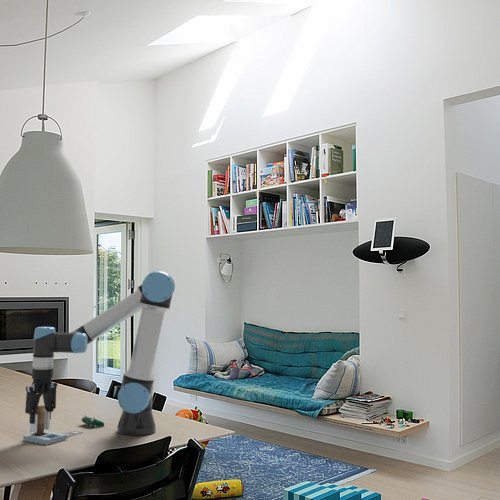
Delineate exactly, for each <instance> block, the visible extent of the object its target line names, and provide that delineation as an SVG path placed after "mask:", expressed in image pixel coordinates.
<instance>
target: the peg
mask: <svg viewBox="0 0 500 500" xmlns="http://www.w3.org/2000/svg"><path fill="white" fill-rule="evenodd" d="M45 411H46V410H45V405H38V408H37V412H36V414H37V415H38V420H37V433H35V436H43V435H44V431H45V429H44V418H45Z"/></svg>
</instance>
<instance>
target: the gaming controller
mask: <svg viewBox="0 0 500 500" xmlns="http://www.w3.org/2000/svg"><path fill="white" fill-rule="evenodd" d="M81 421H82V423H83V424H85V426H88V427H89V426H90V427H91V428H94V427H98V426H99V427H100V428H101V426H102V427H105V423H104V421H101V420H99V419H96V417H95V416H93V417H88V416H87V414H84V415H83V416H82V418H81Z"/></svg>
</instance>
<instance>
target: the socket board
mask: <svg viewBox="0 0 500 500" xmlns="http://www.w3.org/2000/svg"><path fill="white" fill-rule="evenodd" d="M22 437H23V440H22V441H23V442H29V443H33V442H34V443H35V444H38V443H39V444H38V445H43V444H45V445H44V446H49V445H48V444H50V445H52V444H51V443H53V444H56V443H55V442H57V443H60V442H63V441H62V440H64V441H67V440H68V437H67V435H66V434H65V433H60V432H56V431H48V430H44V435H43V436H35V433H34V432H31V433H29V434H25V435H23V436H22ZM66 439H67V440H66ZM59 441H60V442H59Z"/></svg>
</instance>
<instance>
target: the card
mask: <svg viewBox="0 0 500 500" xmlns="http://www.w3.org/2000/svg"><path fill="white" fill-rule="evenodd" d="M83 432H84V431H79V430H73V431H68V432H65V433H64V434H66V435H67V438H69V437H72V435H73V436H76V434H77V435H80V434H83ZM79 433H80V434H79Z"/></svg>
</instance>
